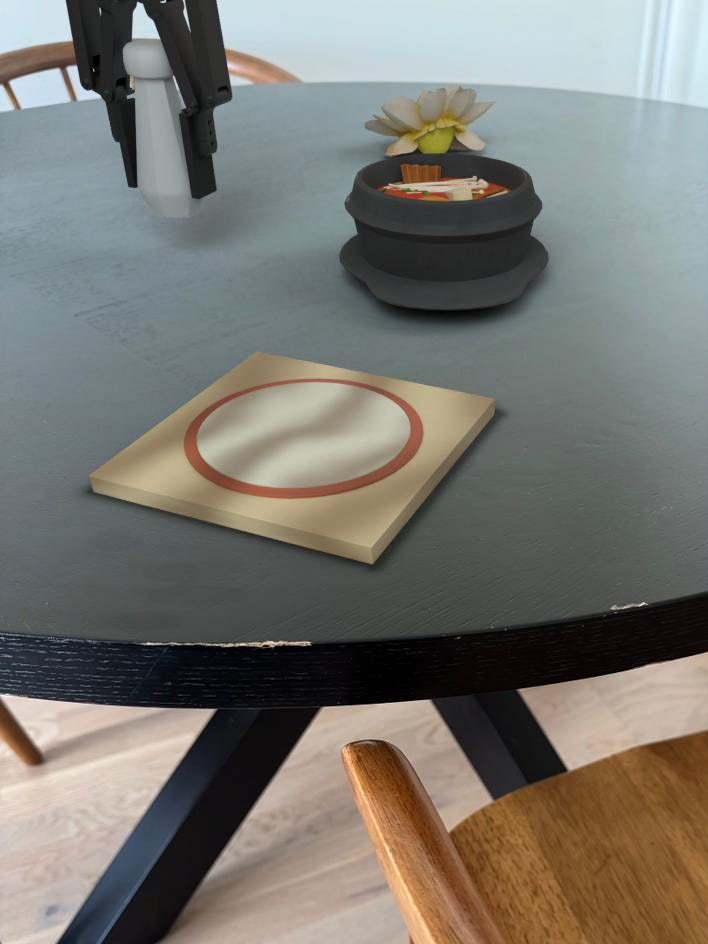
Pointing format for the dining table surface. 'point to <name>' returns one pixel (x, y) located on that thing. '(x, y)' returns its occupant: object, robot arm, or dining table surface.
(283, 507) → the board
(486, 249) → the casserole
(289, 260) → the dining table surface
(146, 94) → the salt shaker
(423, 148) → the decorative flower
